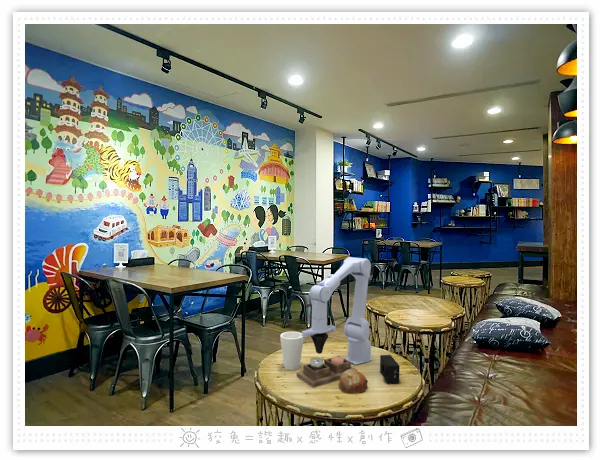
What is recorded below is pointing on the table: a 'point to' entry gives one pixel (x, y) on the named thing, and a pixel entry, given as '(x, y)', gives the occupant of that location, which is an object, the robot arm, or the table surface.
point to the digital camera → (389, 369)
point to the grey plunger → (316, 363)
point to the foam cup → (291, 349)
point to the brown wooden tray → (324, 373)
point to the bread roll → (353, 382)
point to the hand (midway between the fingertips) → (319, 352)
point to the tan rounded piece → (337, 360)
